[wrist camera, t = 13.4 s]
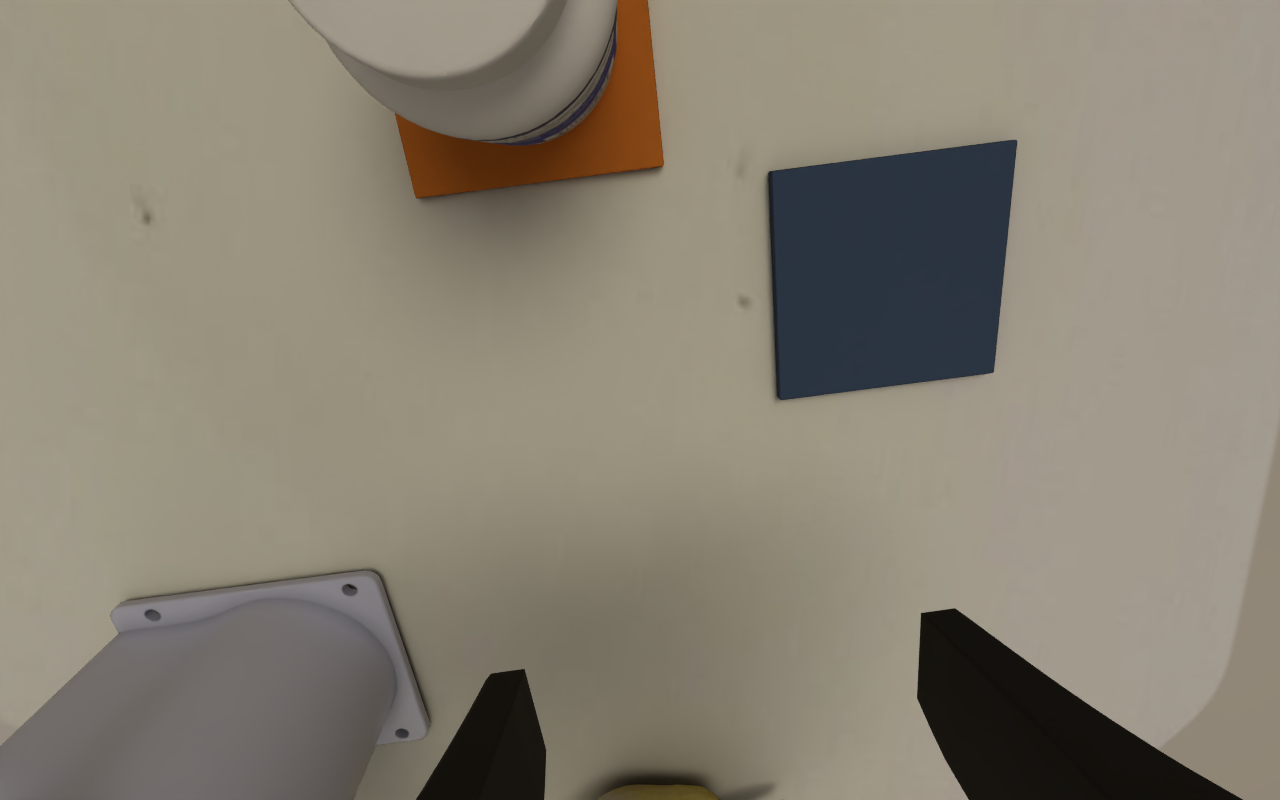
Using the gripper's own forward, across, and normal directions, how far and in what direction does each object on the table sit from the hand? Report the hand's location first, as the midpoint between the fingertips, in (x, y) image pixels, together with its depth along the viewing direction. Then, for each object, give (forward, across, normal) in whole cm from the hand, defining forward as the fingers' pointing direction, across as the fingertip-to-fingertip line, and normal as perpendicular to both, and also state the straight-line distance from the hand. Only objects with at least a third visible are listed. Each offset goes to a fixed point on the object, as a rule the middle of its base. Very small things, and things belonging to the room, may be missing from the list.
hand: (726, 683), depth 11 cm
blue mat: (+10, -7, -5) cm, 13 cm away
